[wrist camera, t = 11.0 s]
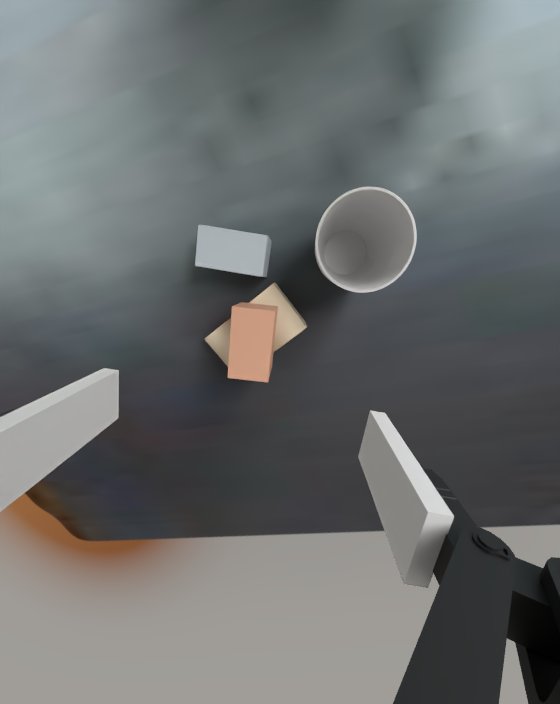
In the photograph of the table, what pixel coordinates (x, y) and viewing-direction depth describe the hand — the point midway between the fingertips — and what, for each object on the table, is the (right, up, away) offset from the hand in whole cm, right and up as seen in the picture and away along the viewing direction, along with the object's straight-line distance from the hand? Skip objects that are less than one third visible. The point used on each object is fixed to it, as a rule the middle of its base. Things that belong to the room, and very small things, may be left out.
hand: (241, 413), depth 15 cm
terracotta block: (-1, +5, +17) cm, 18 cm away
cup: (+9, +15, +18) cm, 25 cm away
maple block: (-1, +6, +21) cm, 22 cm away
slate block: (-3, +15, +19) cm, 24 cm away
